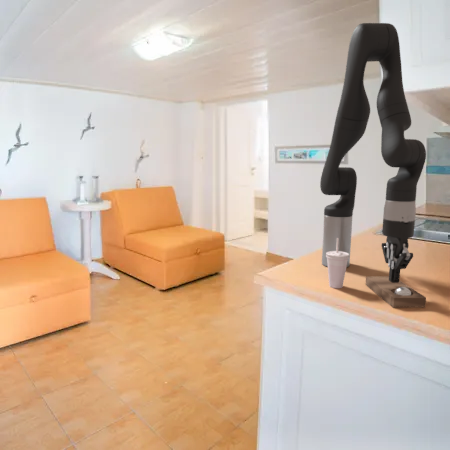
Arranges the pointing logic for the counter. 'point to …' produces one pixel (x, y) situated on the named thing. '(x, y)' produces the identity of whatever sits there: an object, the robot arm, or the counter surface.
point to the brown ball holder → (387, 290)
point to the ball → (403, 291)
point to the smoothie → (336, 266)
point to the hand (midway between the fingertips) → (393, 281)
